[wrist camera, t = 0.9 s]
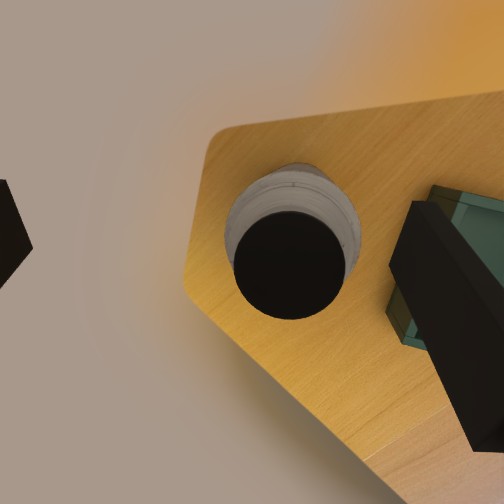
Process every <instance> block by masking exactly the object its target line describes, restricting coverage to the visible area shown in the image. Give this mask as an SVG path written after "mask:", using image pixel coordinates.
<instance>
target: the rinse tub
mask: <svg viewBox="0 0 504 504" xmlns="http://www.w3.org/2000/svg"><path fill="white" fill-rule="evenodd" d="M427 201H430V202H436V203H437V204H438V206H439V207H440V208H441V209H442V211H443V212H444V213H445V214H446V216H447V217H448V218H449V219H450V221H451V222H452V223H453V225H454V226H455V227H456V228H457V230H458V231H459V232H460V233H461V235H462V236H463V237H464V238H465V240H466V241H467V242H468V244H469V245H470V246H471V247H472V249H473V250H474V251H475V252H476V254H477V255H478V256H479V257H480V259H481V260H482V261H483V263H484V264H485V265H486V266H487V268H488V269H489V270H490V271H491V273H492V274H493V275H494V276H495V278H496V279H497V280H498V282H499V283H500V284H501V285H502V287H503V288H504V201H501V200H497V199H493V198H489V197H485V196H481V195H476V194H472V193H468V192H464V191H460V190H455V189H451V188H446V187H442V186H437V185H433V187H432V189H431V192H430V195H429V197H428V200H427ZM386 314H387V316H388V318H389V320H390V322H391V324H392V326H393V328H394V330H395V332H396V334H397V336H398V337H399V339H400V341H401V343H402V344H404V345H408V346H411V347H415V348H419V349H422V350H426V351H427V349H426V347H425V344H424V342H423V340H422V338H421V336H420V333H419V331H418V329H417V327H416V325H415V322H414V320H413V318H412V316H411V314H410V311H409V309H408V307H407V305H406V303H405V300H404V298H403V296H402V294H401V292H400V289H399V287H398V285H397V283H396V286H395V288H394V291H393V294H392V296H391V299H390V302H389V304H388V307H387V310H386Z"/></svg>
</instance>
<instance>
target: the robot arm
mask: <svg viewBox="0 0 504 504" xmlns="http://www.w3.org/2000/svg"><path fill="white" fill-rule="evenodd" d="M32 249H33V247H32V244H31V242H30V239H29V237H28V234H27V232H26V229H25V227H24V224H23V222H22V219H21V217H20V214H19V212H18V209H17V207H16V204H15V202H14V199H13V197H12V194H11V192H10V189H9V187H8V184H7V182H6V180H3V179H0V288H1V287H2V286H3V285H4V283H5V282H6V281H7V280H8V279H9V278H10V276H11V275H12V274H13V273H14V271H15V270H16V269H17V268H18V267H19V265H20V264H21V263H22V262H23V260H24V259H25V258H26V257H27V256H28V254H29V253H30V252H31V251H32ZM389 267H390V270H391V272H392V274H393V276H394V278H395V281H396V283H397V285H398V287H399V289H400V292H401V294H402V296H403V298H404V300H405V303H406V305H407V307H408V309H409V311H410V314H411V316H412V318H413V320H414V322H415V325H416V327H417V329H418V331H419V333H420V336H421V338H422V340H423V342H424V344H425V347H426V349H427V351H428V353H429V355H430V358H431V360H432V362H433V364H434V366H435V369H436V371H437V373H438V375H439V377H440V380H441V382H442V384H443V386H444V388H445V391H446V393H447V395H448V397H449V399H450V402H451V404H452V406H453V408H454V410H455V413H456V415H457V417H458V419H459V421H460V424H461V426H462V428H463V430H464V432H465V435H466V437H467V439H468V441H469V443H470V446H471V448H472V450H473V452H497V453H504V288H503V287H502V285H501V284H500V283H499V282H498V280H497V279H496V278H495V276H494V275H493V274H492V273H491V271H490V270H489V269H488V268H487V266H486V265H485V264H484V263H483V261H482V260H481V259H480V257H479V256H478V255H477V254H476V252H475V251H474V250H473V249H472V247H471V246H470V245H469V244H468V242H467V241H466V240H465V238H464V237H463V236H462V235H461V233H460V232H459V231H458V230H457V228H456V227H455V226H454V225H453V223H452V222H451V221H450V219H449V218H448V217H447V216H446V214H445V213H444V212H443V211H442V209H441V208H440V207H439V206H438V204H437V203H436V202H430V201H412V203H411V206H410V209H409V211H408V214H407V217H406V219H405V222H404V225H403V228H402V230H401V233H400V236H399V238H398V241H397V244H396V247H395V249H394V252H393V255H392V257H391V260H390V263H389Z"/></svg>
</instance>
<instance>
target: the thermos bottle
mask: <svg viewBox="0 0 504 504" xmlns="http://www.w3.org/2000/svg"><path fill="white" fill-rule="evenodd" d="M225 248H226V251H227V255H228V259H229V261H230V263H231V265H232V269H233V271H234V276H235V279H236V283H237V285H238V287H239V289H240V291H241V293H242V294H243V296H244V297H245V298H246V300H247V301H248V302H249V303H250V304H251V305H252V306H254V307H255V308H256V309H258V310H259V311H261V312H262V313H264V314H267V315H269V316H272V317H275V318H280V319H290V320H295V319H301V318H306V317H309V316H312V315H314V314H316V313H318V312H320V311H322V310H323V309H325V308H326V307H327V306H328V305H329V304H330V303H331V302H332V301H333V300H334V299H335V297H336V296H337V295H338V293H339V291H340V289H341V287H342V285H343V282H344V281H345V280H346V278H347V277H348V276H349V274H350V273H351V272H352V270H353V268H354V266H355V264H356V262H357V259H358V256H359V252H360V248H361V227H360V222H359V218H358V215H357V213H356V210H355V208H354V206H353V204H352V203H351V201H350V200H349V198H348V197H347V195H346V194H345V193H344V192H343V191H342V190H341V189H340V188H339V187H338V186H337V185H335V184H334V183H333V182H332V181H331V180H330V179H329V178H328V177H327V176H326V175H325V174H324V173H323V172H322V171H321V170H319V169H318V168H316V167H315V166H312V165H309V164H305V163H293V164H289V165H286V166H284V167H281V168H279V169H278V170H276V171H274V172H272V173H270V174H268V175H266V176H264V177H262V178H260V179H258V180H256V181H255V182H254V183H252V184H251V185H250V186H248V187H247V188H246V189H245V190H244V191H243V192H242V193H241V195H240V196H239V197H238V198H237V199H236V201H235V203H234V204H233V206H232V208H231V210H230V212H229V215H228V218H227V221H226V228H225Z"/></svg>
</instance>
